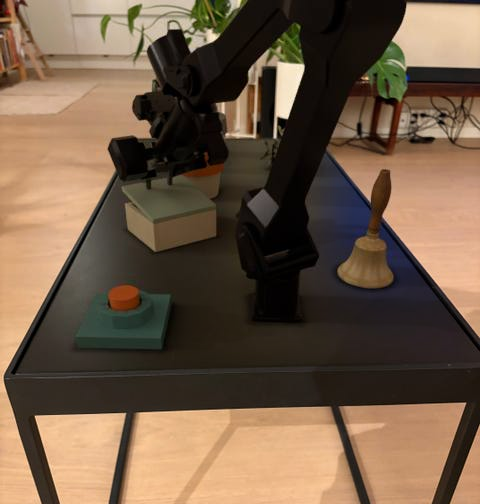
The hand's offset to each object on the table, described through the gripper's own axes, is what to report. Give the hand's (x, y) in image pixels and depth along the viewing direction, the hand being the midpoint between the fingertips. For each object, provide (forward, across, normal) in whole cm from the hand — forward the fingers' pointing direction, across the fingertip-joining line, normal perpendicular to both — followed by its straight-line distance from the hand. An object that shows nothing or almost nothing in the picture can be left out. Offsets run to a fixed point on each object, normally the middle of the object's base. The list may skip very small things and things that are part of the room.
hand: (156, 177), depth 88 cm
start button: (-15, +18, +22) cm, 33 cm away
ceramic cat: (+30, -20, -17) cm, 40 cm away
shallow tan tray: (+3, 0, +9) cm, 9 cm away
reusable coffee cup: (+13, -14, -1) cm, 19 cm away
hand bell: (-18, -17, +30) cm, 39 cm away
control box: (-13, +18, +25) cm, 33 cm away
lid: (-1, 0, +5) cm, 5 cm away
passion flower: (+15, -38, -3) cm, 41 cm away
